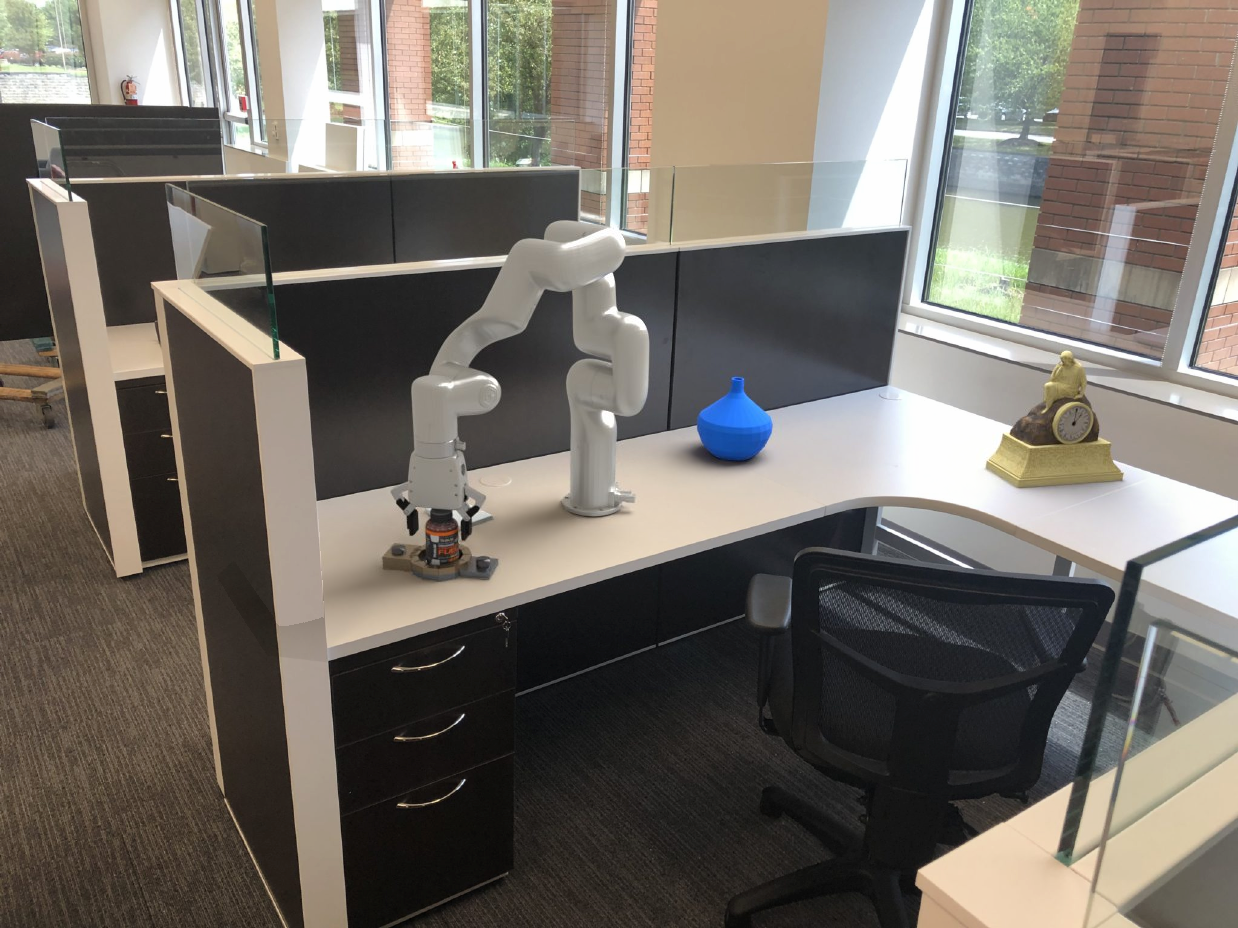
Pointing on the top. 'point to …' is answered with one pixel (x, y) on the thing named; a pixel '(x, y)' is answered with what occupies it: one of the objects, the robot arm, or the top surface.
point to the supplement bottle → (441, 538)
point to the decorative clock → (1056, 437)
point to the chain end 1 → (409, 557)
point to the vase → (734, 425)
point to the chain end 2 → (476, 569)
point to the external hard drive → (476, 519)
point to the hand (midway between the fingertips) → (439, 535)
